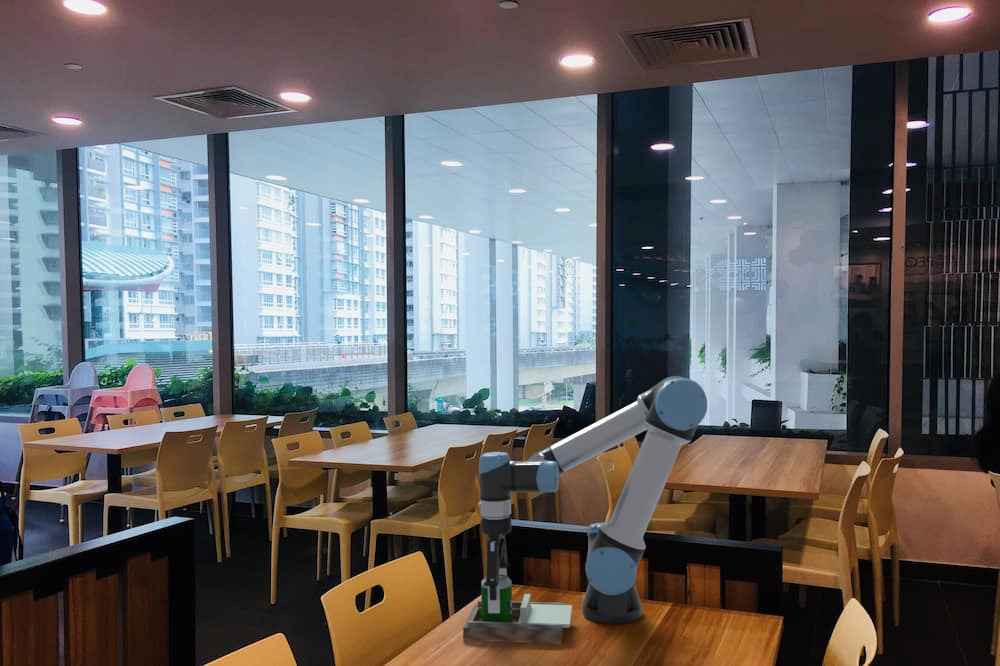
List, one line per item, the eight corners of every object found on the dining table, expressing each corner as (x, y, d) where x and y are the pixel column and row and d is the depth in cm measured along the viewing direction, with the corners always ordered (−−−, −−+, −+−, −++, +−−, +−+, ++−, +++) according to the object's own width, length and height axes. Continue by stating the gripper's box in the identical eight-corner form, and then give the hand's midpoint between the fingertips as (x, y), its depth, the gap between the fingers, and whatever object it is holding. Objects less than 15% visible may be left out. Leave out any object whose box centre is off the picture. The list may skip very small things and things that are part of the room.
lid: (572, 608, 193) (571, 593, 193) (569, 627, 180) (569, 611, 180) (525, 606, 194) (525, 591, 194) (519, 625, 182) (519, 609, 182)
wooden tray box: (564, 619, 195) (564, 602, 195) (560, 644, 179) (560, 625, 179) (474, 616, 198) (474, 599, 198) (463, 640, 182) (463, 622, 182)
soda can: (509, 633, 184) (508, 583, 184) (478, 631, 186) (477, 581, 186) (515, 622, 192) (514, 573, 192) (485, 620, 193) (484, 572, 193)
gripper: (488, 505, 202) (490, 586, 202) (472, 528, 177) (474, 620, 177) (516, 505, 201) (519, 586, 201) (504, 528, 176) (506, 621, 176)
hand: (498, 603), depth 189 cm, fingers open, 13 cm apart
